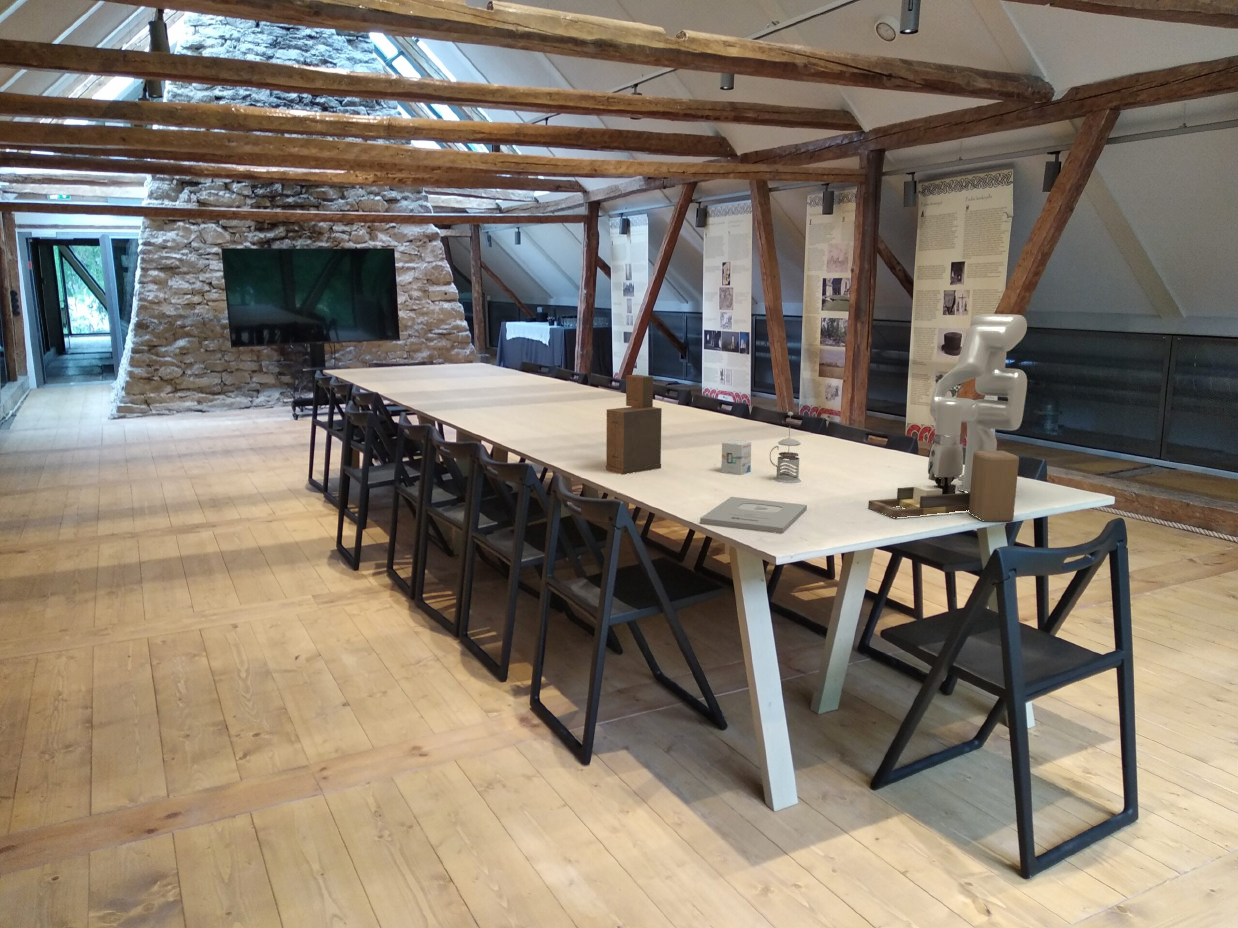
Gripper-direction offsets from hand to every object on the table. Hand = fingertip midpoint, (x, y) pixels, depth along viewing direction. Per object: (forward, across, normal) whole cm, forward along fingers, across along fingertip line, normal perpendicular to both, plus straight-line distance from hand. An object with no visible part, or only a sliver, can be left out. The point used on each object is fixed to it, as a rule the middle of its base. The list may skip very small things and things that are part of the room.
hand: (942, 497), depth 271 cm
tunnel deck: (+4, -4, 0) cm, 6 cm away
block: (+4, +7, -14) cm, 16 cm away
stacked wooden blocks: (+4, -72, +88) cm, 114 cm away
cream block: (+1, -5, 0) cm, 5 cm away
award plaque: (+4, -61, +8) cm, 62 cm away
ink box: (+4, -38, +70) cm, 80 cm away
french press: (+4, -27, +52) cm, 59 cm away
